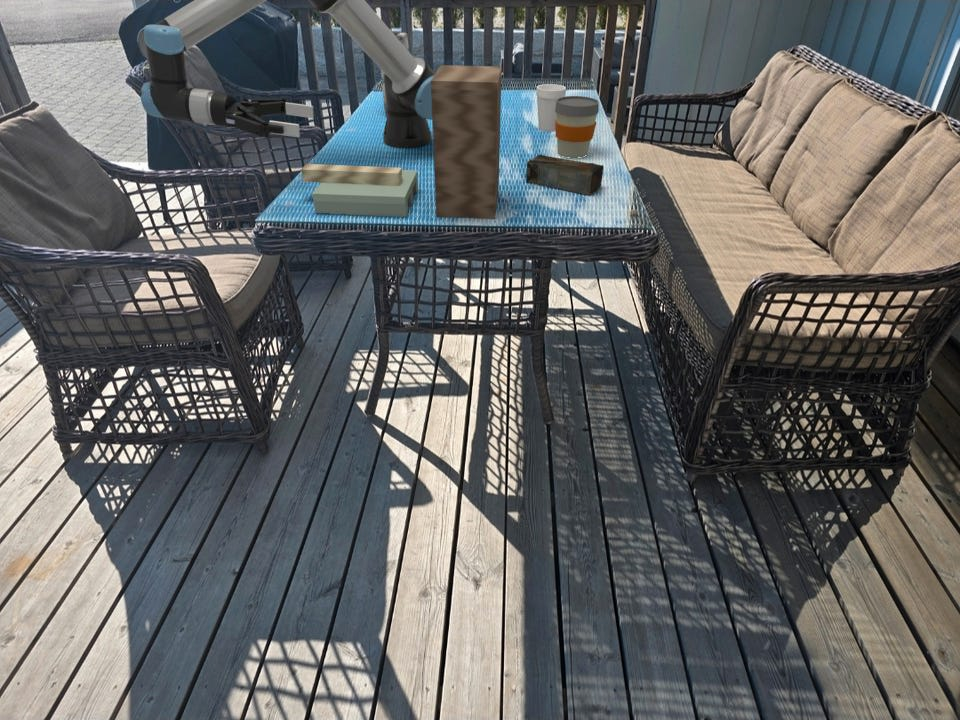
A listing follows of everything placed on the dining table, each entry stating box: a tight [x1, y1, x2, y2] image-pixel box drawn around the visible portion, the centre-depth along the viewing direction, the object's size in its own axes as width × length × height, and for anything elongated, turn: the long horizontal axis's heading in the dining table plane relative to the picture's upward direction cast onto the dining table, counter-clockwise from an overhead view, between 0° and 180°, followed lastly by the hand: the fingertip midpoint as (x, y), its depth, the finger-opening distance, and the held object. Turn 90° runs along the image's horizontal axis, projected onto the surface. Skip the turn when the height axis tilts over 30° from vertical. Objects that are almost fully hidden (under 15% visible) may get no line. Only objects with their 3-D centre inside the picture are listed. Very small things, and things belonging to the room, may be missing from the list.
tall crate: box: [431, 64, 503, 220], centre depth 139 cm, size 14×16×30 cm
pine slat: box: [300, 163, 403, 186], centre depth 146 cm, size 24×4×3 cm, turn 84°
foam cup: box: [535, 83, 567, 133], centre depth 197 cm, size 10×9×13 cm
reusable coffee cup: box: [554, 95, 600, 159], centre depth 176 cm, size 13×13×15 cm
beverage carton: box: [525, 154, 605, 196], centre depth 158 cm, size 8×19×7 cm, turn 60°
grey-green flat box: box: [311, 169, 419, 218], centre depth 148 cm, size 22×18×5 cm
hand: (306, 121), depth 141 cm, fingers open, 13 cm apart
